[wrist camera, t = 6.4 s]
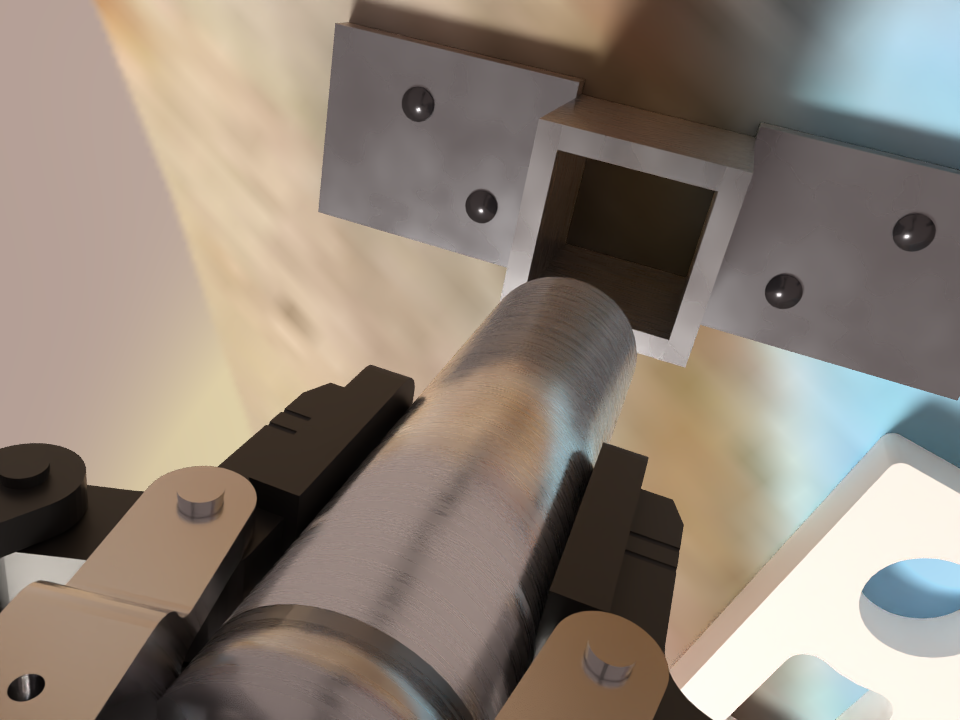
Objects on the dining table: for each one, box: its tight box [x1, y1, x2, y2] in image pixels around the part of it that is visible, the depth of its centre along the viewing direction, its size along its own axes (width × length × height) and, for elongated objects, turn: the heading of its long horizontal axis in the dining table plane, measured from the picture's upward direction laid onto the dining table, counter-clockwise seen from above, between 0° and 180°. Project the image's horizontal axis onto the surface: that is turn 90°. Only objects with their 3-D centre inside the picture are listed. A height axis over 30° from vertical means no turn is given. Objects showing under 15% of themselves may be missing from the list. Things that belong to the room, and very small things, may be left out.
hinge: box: [318, 22, 960, 400], centre depth 26 cm, size 7×24×6 cm, turn 79°
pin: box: [157, 277, 637, 720], centre depth 12 cm, size 3×3×11 cm
